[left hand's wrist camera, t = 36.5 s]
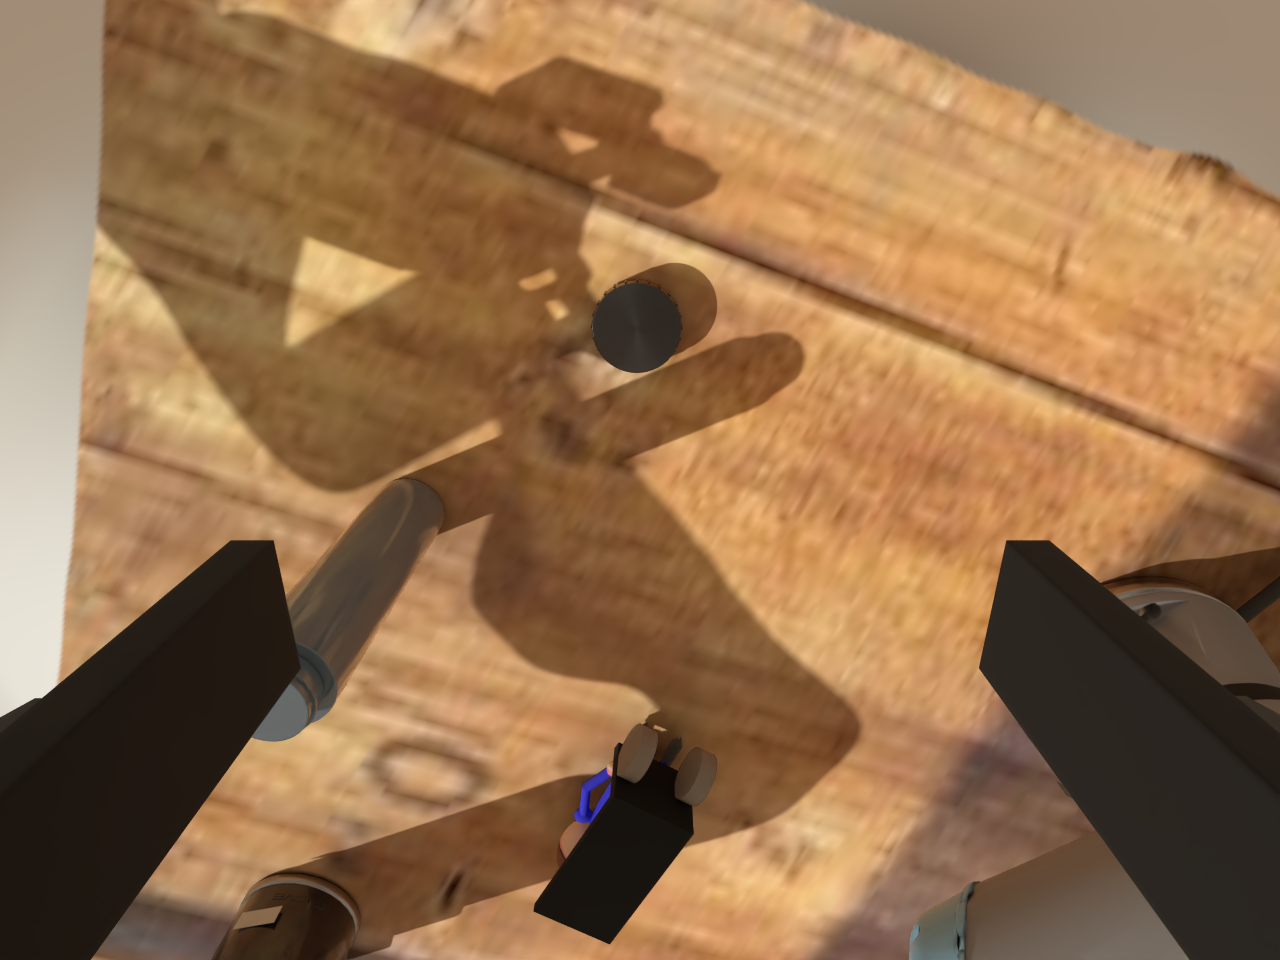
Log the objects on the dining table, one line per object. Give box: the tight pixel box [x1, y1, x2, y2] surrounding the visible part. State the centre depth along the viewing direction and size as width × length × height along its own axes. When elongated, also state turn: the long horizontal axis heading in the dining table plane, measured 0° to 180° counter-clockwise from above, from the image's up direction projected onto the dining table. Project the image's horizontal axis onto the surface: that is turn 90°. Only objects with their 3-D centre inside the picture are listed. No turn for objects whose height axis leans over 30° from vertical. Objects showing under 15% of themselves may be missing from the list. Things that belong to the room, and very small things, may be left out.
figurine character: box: [534, 723, 717, 944], centre depth 49 cm, size 7×8×15 cm
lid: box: [591, 278, 682, 373], centre depth 39 cm, size 5×5×2 cm
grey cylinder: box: [252, 479, 444, 741], centre depth 36 cm, size 4×4×18 cm
